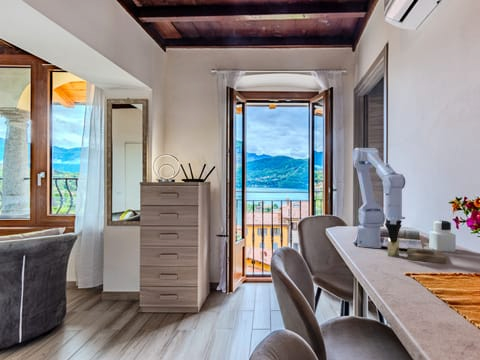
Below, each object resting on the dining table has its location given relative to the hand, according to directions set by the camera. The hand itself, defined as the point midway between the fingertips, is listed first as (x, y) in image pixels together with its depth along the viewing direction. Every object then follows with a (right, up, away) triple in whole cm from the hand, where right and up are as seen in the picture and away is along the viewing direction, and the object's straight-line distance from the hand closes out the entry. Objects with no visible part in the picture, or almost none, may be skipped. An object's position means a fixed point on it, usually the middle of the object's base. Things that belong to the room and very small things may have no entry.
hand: (393, 240), depth 126 cm
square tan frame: (+11, -6, -3) cm, 13 cm away
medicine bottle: (+25, -6, +9) cm, 27 cm away
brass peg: (0, -6, 0) cm, 6 cm away
